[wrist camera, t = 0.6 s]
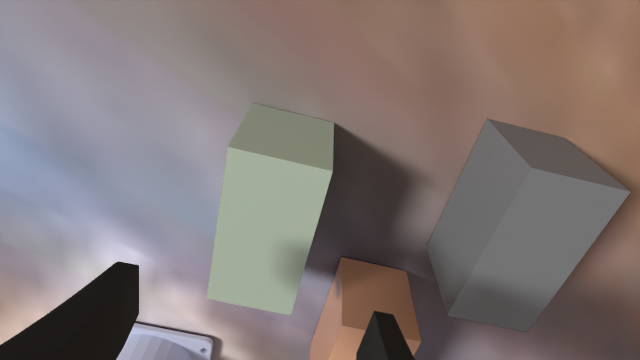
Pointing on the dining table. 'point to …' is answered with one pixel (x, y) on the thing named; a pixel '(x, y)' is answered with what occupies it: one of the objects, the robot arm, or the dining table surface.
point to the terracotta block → (362, 309)
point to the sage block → (270, 207)
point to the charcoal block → (518, 225)
